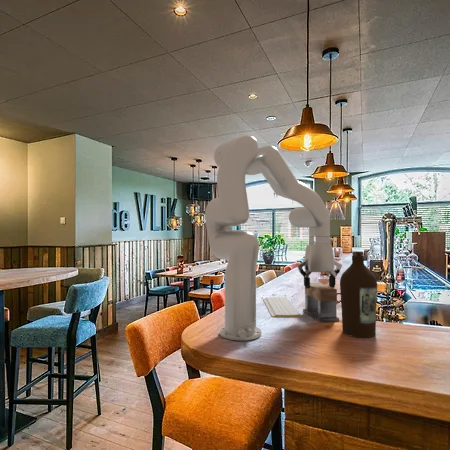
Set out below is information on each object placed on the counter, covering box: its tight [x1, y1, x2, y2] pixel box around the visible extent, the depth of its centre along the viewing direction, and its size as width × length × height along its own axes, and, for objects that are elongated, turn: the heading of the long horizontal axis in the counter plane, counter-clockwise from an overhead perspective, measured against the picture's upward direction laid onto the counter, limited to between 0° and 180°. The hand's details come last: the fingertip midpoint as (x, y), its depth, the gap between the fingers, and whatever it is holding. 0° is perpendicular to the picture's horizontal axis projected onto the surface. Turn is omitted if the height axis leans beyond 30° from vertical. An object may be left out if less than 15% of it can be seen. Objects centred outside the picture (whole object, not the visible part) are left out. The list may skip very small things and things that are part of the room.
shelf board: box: [304, 282, 338, 301], centre depth 119 cm, size 14×6×4 cm, turn 8°
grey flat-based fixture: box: [302, 293, 340, 323], centre depth 119 cm, size 15×7×7 cm, turn 9°
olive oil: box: [339, 250, 378, 339], centre depth 99 cm, size 11×11×25 cm
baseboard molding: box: [261, 294, 302, 318], centre depth 134 cm, size 31×3×12 cm
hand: (319, 287), depth 120 cm, fingers open, 9 cm apart
